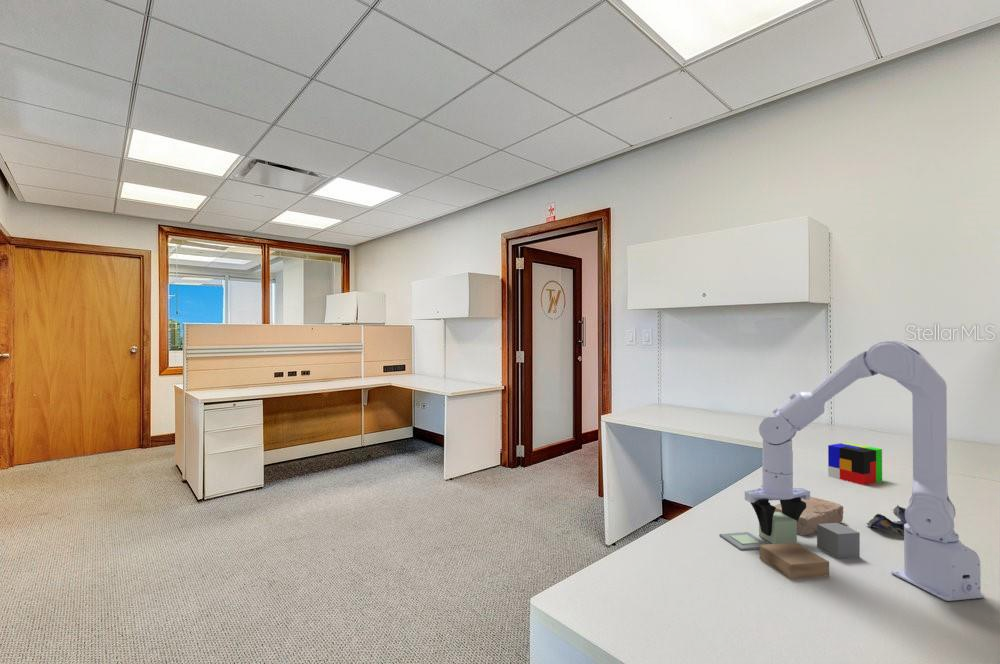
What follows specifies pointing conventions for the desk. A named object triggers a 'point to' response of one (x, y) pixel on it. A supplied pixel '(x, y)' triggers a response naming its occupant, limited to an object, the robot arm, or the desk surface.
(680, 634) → the desk surface
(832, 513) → the brick
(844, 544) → the charcoal block
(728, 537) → the plaque
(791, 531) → the sage block
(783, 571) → the light brown block
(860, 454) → the puzzle toy
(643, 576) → the desk surface
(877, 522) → the snack package
